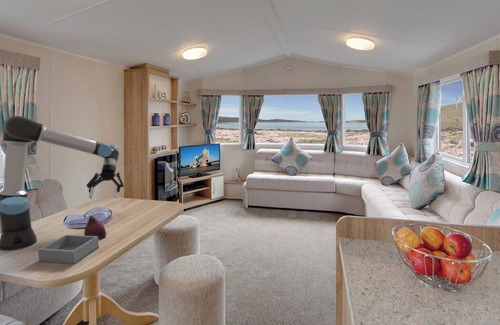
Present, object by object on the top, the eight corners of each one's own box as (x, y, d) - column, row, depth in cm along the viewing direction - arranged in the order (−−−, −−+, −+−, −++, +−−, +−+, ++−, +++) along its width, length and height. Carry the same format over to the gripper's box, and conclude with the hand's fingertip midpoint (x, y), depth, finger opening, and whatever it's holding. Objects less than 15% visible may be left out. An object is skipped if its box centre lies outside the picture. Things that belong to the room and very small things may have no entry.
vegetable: (97, 247, 151) (93, 224, 145) (80, 243, 153) (76, 219, 147) (110, 235, 161) (107, 213, 155) (94, 231, 162) (91, 209, 156)
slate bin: (39, 262, 129) (38, 249, 128) (67, 245, 146) (66, 234, 145) (74, 264, 127) (73, 251, 126) (98, 247, 144) (98, 236, 143)
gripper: (131, 170, 185) (127, 199, 172) (89, 171, 181) (81, 201, 168) (129, 163, 179) (124, 193, 166) (85, 164, 175) (77, 194, 162)
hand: (103, 197), depth 167 cm, fingers open, 13 cm apart
